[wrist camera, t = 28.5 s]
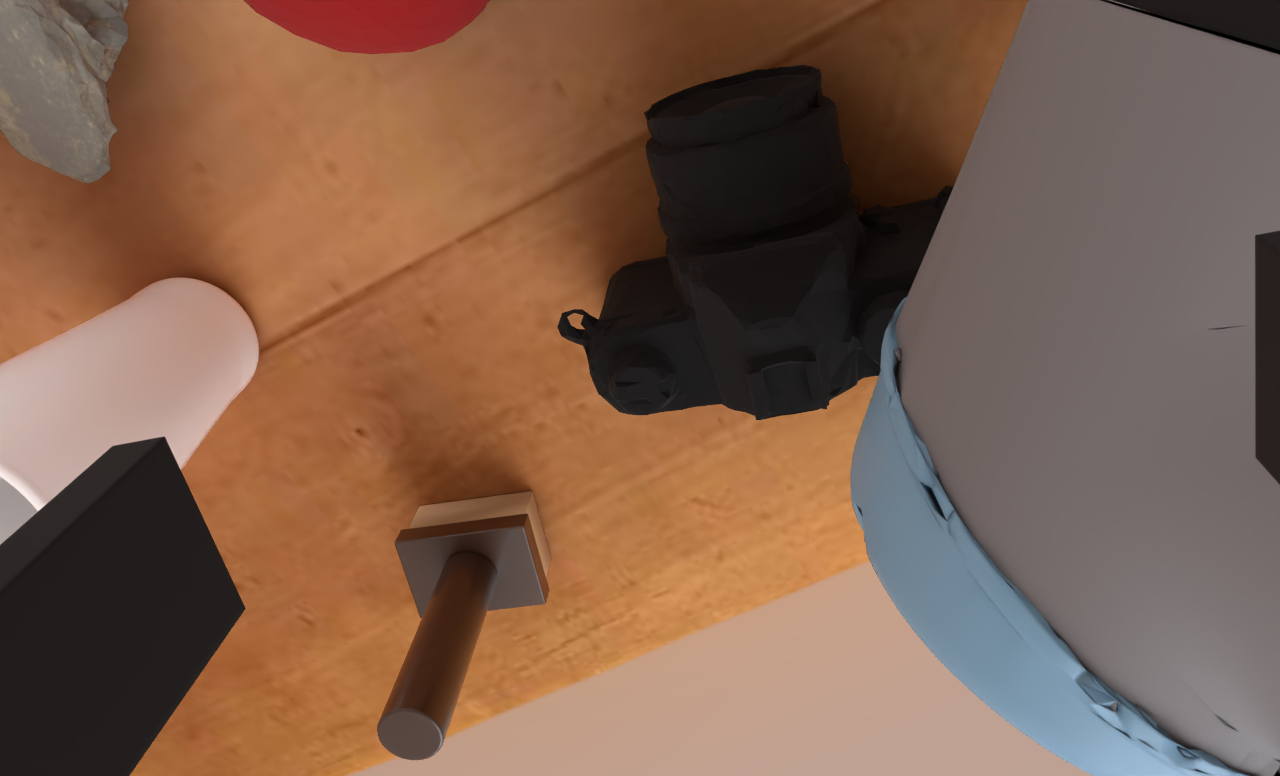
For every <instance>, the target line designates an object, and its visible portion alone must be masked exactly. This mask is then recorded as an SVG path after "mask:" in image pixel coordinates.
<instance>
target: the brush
mask: <svg viewBox="0 0 1280 776" xmlns="http://www.w3.org/2000/svg"><path fill="white" fill-rule="evenodd" d="M395 546H396V549H397V552H398V555H399V557H400V560H401V563H402V566H403V569H404V572H405V575H406V578H407V581H408V583H409V586H410V589H411V592H412V595H413V598H414V601H415V604H416V607H417V609H418V612H419V615H420V618H422V620H421V622H420V625H419V627H418V630H417V632H416V634H415V637H414V639H413V641H412V644H411V646H410V649H409V651H408V653H407V656H406V658H405V661H404V663H403V665H402V668H401V670H400V673H399V675H398V677H397V680H396V682H395V684H394V687H393V689H392V692H391V694H390V696H389V699H388V701H387V704H386V706H385V708H384V711H383V713H382V716H381V718H380V720H379V723H378V727H377V732H378V737H379V740H380V742H381V743H382V745H383V746H384V747H385V748H386V749H387V750H388V751H389V752H391V753H392V754H394V755H396V756H398V757H401V758H404V759H408V760H422V759H426V758H429V757H431V756H433V755H434V754H436V753H437V752H438V751H439V750H440V748H441V747H442V745H443V742H444V739H445V736H446V733H447V730H448V727H449V724H450V721H451V718H452V715H453V712H454V709H455V706H456V703H457V700H458V697H459V694H460V691H461V688H462V685H463V682H464V679H465V676H466V673H467V670H468V667H469V664H470V661H471V658H472V655H473V652H474V649H475V646H476V643H477V640H478V637H479V634H480V631H481V628H482V625H483V622H484V619H485V616H486V613H487V611H489V610H498V609H506V608H515V607H524V606H532V605H541V604H545V603H546V601H547V597H548V593H549V587H548V583H547V580H546V578H547V574H548V570H549V567H550V563H551V556H550V553H549V549H548V545H547V542H546V538H545V535H544V531H543V527H542V524H541V520H540V516H539V513H538V509H537V506H536V502H535V498H534V495H533V492H532V491H528V492H521V493H513V494H506V495H498V496H491V497H484V498H476V499H469V500H461V501H454V502H446V503H439V504H431V505H424V506H419V508H418V510H417V512H416V514H415V516H414V518H413V520H412V522H411V524H410V526H409V528H408V529H403V530H401V531H400V533H399V535H398V537H397V539H396V541H395Z"/></svg>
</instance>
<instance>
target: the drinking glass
mask: <svg viewBox="0 0 1280 776" xmlns="http://www.w3.org/2000/svg"><path fill="white" fill-rule="evenodd" d="M258 359H259V343H258V338H257V334H256V331H255V328H254V326H253V323H252V321H251V320H250V318H249V316H248V315H247V313H246V312H245V310H244V309H243V308H242V307H241V305H240V304H239V303H238V302H237V301H236V300H235V299H234V298H232V297H231V296H230V295H229V294H227V293H226V292H225V291H223V290H221V289H220V288H218V287H216V286H214V285H212V284H210V283H207V282H204V281H201V280H197V279H192V278H183V277H177V278H168V279H163V280H159V281H157V282H154V283H152V284H150V285H148V286H146V287H144V288H143V289H141V290H140V291H138V292H137V293H135V294H134V295H133V296H131V297H130V298H128V299H127V300H125V301H123V302H121V303H119V304H117V305H116V306H114V307H112V308H110V309H108V310H106V311H104V312H102V313H100V314H98V315H96V316H94V317H92V318H90V319H88V320H86V321H85V322H83V323H81V324H79V325H77V326H75V327H73V328H71V329H69V330H67V331H65V332H63V333H61V334H59V335H57V336H55V337H53V338H51V339H49V340H47V341H45V342H43V343H41V344H39V345H37V346H35V347H33V348H31V349H29V350H27V351H25V352H23V353H21V354H19V355H17V356H15V357H13V358H11V359H9V360H6V361H4V362H2V363H0V545H1V544H2V543H3V542H4V541H5V540H6V539H7V538H9V537H10V536H11V535H12V534H13V533H14V532H15V531H17V530H18V529H19V528H20V527H21V526H22V525H23V524H24V523H26V522H27V521H28V520H29V519H30V518H31V517H32V516H34V515H35V514H36V513H37V512H38V511H39V510H40V509H41V508H43V507H44V506H45V505H46V504H47V503H48V502H49V501H51V500H52V499H53V498H54V497H55V496H56V495H57V494H59V493H60V492H61V491H62V490H63V489H64V488H65V487H66V486H68V485H69V484H70V483H71V482H72V481H73V480H74V479H76V478H77V477H78V476H79V475H80V474H81V473H82V472H84V471H85V470H86V469H87V468H88V467H89V466H90V465H91V464H93V463H94V462H95V461H96V460H97V459H98V458H99V457H101V456H102V455H103V454H104V453H105V452H106V451H107V450H108V449H110V448H111V447H112V446H115V445H120V444H126V443H131V442H137V441H142V440H147V439H153V438H158V437H164V436H165V438H166V440H167V442H168V444H169V446H170V449H171V451H172V453H173V455H174V457H175V459H176V461H177V464H178V466H179V468H180V470H182V469H183V468H184V466H185V465H186V463H187V462H188V461H189V459H190V458H191V456H192V455H193V454H194V452H195V451H196V450H197V448H198V447H199V445H200V444H201V443H202V441H203V440H204V438H205V437H206V436H207V434H208V433H209V432H210V430H211V429H212V428H213V426H214V425H215V423H216V422H217V421H218V419H219V418H220V417H221V415H222V414H223V413H224V411H225V410H226V409H227V407H228V406H229V405H230V403H231V402H232V401H233V400H234V399H235V398H236V397H237V396H238V395H239V394H240V393H241V392H242V391H243V390H244V389H245V387H246V386H247V385H248V384H249V382H250V381H251V379H252V377H253V375H254V373H255V371H256V368H257V364H258Z"/></svg>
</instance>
